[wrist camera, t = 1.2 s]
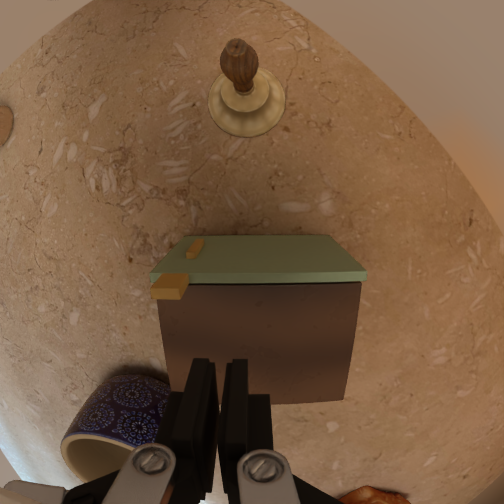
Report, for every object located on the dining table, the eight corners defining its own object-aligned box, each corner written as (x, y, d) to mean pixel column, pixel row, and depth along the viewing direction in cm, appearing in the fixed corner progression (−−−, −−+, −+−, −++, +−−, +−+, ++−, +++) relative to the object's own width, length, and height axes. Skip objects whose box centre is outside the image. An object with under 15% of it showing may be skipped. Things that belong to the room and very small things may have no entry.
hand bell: (221, 147, 32) (194, 130, 17) (198, 79, 30) (157, 18, 15) (295, 124, 32) (331, 90, 16) (271, 57, 30) (283, -18, 14)
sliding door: (184, 230, 34) (134, 278, 19) (329, 229, 34) (383, 276, 19) (184, 242, 35) (136, 299, 20) (328, 241, 35) (381, 296, 19)
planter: (84, 358, 40) (36, 423, 25) (190, 358, 39) (165, 441, 25) (120, 435, 44) (93, 499, 29) (213, 439, 43) (203, 515, 29)
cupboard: (185, 246, 35) (154, 284, 24) (328, 245, 35) (361, 282, 23) (193, 339, 38) (173, 401, 27) (320, 338, 38) (343, 400, 27)
